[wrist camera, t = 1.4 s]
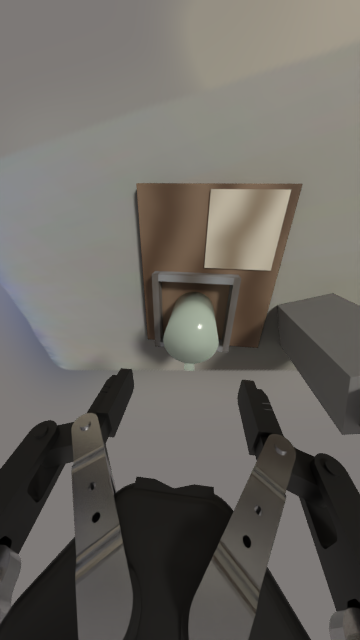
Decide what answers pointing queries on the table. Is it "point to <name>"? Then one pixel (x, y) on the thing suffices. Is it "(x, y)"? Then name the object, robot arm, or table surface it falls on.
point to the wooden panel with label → (214, 252)
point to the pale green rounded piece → (191, 330)
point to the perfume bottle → (326, 353)
